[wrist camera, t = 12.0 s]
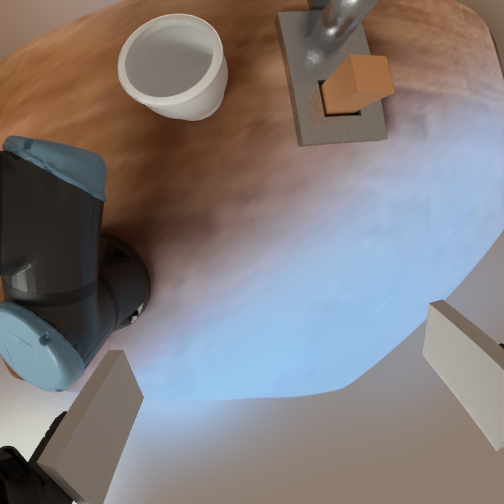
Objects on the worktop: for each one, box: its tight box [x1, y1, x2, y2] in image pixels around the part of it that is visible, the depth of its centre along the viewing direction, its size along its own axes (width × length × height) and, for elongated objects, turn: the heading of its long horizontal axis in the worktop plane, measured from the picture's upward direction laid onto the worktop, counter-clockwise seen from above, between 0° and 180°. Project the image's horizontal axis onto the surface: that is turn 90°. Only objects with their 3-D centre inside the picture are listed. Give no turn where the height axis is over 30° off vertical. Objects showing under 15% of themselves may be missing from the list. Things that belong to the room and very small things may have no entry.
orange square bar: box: [319, 54, 395, 117], centre depth 30 cm, size 4×4×15 cm
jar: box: [117, 14, 228, 121], centre depth 30 cm, size 11×10×15 cm
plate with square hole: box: [275, 0, 387, 147], centre depth 27 cm, size 12×22×18 cm, turn 9°
